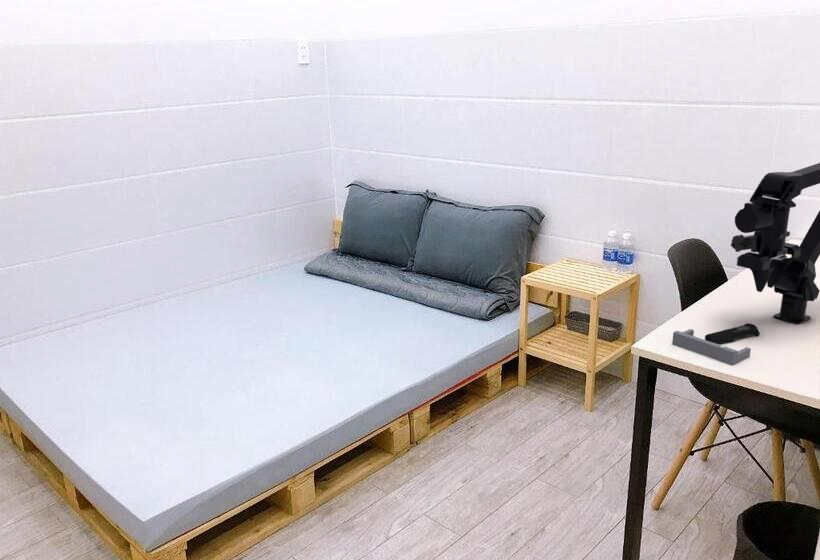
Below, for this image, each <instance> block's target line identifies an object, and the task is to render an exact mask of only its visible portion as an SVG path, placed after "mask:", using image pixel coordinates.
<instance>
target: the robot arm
mask: <svg viewBox="0 0 820 560" xmlns="http://www.w3.org/2000/svg"><path fill="white" fill-rule="evenodd" d="M816 185H820V162H818V163H816V164H812V165H809V166H806V167H804V168H800V169H797V170H793V171H790V172H789V171H787V172H786V171H785V172H784V171H774V172H768V173H766V174H765V175H764V176H763V178H762V179H761V180H760V181H759V184H758V185H757V187H756V188H755V190H754V192H753V193H752V195H751V197H750V198H749V202H744V206H743V208H741V209H739V210H738V212H737V213H736V215H735V216H734V225H735V227H736V228H737V230H738V231H740V233H744V234H750V233H753V234H750V235H743V234H740V235H739V234H736V235H734V236H732V239H731V243H730V247H731V248H732V249H734V250H735V253H739V252H741V251H747V250H750V251H748V252H745V253H742V254H741V255H738V257H737V258H736V266H738V267H741V268H745V269H749V270H750V271H751V273H752V276H753V280H754V284H755V285H754V286H755V290H756V291H757V292H759V293H762V292H763V290H764V289H765V287H766V286H767V288H771V289H772V288H773V291H774V293H778V294H780V295H782V296H781V303H780V308H779V312H777V313H776V314H774V315H773V316H772V318H774V319H777V320H782V321H785V322H789V323H793V324H796V325H799V324H803V323H804V321H805V322H806V321H809V320H810V318H811V316H810V315H807V307H808V303H809V302H814V301H815V300H817V299H818V297H819V294H820V289H819V287H818V286H817V284H816V283H815V279H816V276H817V274H816V262H817V260H818V259H819V257H820V210H819V211H818V212H817V214H816V215H815V218H814V220H813V221H812V223H811V225H810V227H809V229H808V230H807V232H806V233H805V236H804V237H803V239H802V241H801V242H800V245H798V244H794V243H789V242H786V239H787V238H788V237H789V236H790V235H791V231H788V226H789V218H790V213H791V209H792V208H797V207H796V206H797V203H796V202H794V201H793V200H794V199H795V198H797V197H799V196H800V195H801V194H802V191H803V190H806V189H807V188H809V187H810V188H811V187H813V186H816ZM787 255H790V257H788V256H787Z"/></svg>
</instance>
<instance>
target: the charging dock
mask: <svg viewBox="0 0 820 560" xmlns="http://www.w3.org/2000/svg"><path fill="white" fill-rule="evenodd" d="M694 333H695V330H694V329H693V328H692V329H691V328H689V329H686V330H684V331H679V330H675V331H673V332H672V342H671V344H672V345H674V346H677V347H680V348H683V349H685V350H688V351H691V352H694V353H696V354H697V353H698V354H699V355H702V356H706V357H708V358H711V359H714V360H717V361H720V362H722V363H726V364H728V365H731V366H734V365H735V364H736V365H737V364H738V363H740V362H742V361H744V360H745V359H748V358H750V356H751V350H752V348H751V347H747V346H746V347H744V348H742V349H739V350H737V349H733V348H731V347H727V345H726V344H720V343H713V342H710V341H707V340H705V338H704V339H703V338H701V337H698V336H697V337H696V336H694V335H695V334H694Z"/></svg>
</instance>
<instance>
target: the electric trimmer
mask: <svg viewBox="0 0 820 560" xmlns="http://www.w3.org/2000/svg"><path fill="white" fill-rule="evenodd" d="M760 334H761V332H760V330H759V329H758V327H757V325H755V324H752V323H749V322H747V323H745V324H743V325H739V326H736V327H731V328H727V329H723V330H719V331H715V332H711V333H707V334H705V336H704V340H707V341H710V342H713V343H716V344H721V343H722V344H723V343H731V342H734V341H735V340H737V339H741V338H748V337H752V336H754V335H755V336H754V337H759V335H760Z"/></svg>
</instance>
